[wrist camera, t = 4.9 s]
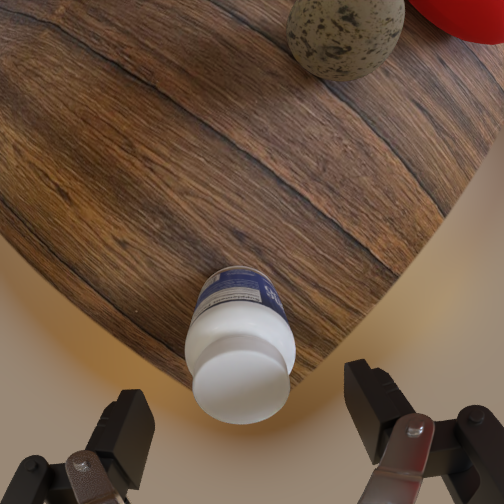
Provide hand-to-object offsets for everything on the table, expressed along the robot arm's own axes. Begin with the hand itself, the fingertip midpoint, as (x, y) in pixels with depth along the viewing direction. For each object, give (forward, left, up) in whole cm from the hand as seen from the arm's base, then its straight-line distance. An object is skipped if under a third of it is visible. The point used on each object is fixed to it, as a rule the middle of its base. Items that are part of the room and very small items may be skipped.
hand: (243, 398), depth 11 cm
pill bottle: (0, 0, -11) cm, 11 cm away
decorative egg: (+8, +16, -11) cm, 21 cm away
